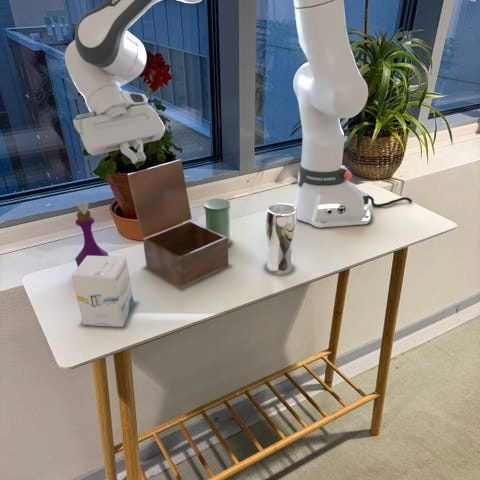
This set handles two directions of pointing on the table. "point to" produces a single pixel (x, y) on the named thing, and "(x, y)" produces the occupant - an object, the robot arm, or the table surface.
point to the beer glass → (280, 237)
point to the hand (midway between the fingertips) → (140, 161)
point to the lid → (160, 197)
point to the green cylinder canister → (218, 216)
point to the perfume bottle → (87, 234)
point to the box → (186, 252)
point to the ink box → (103, 290)
